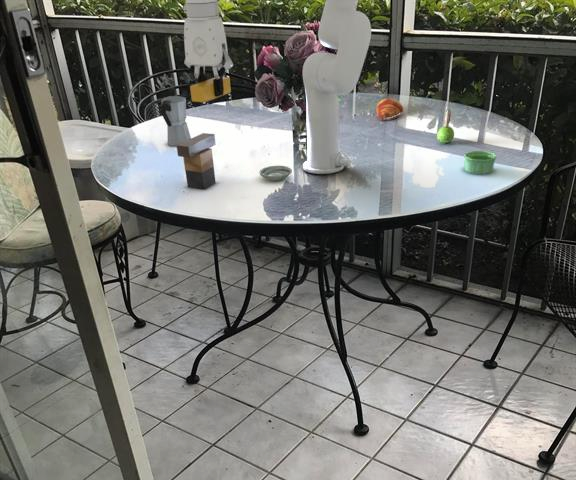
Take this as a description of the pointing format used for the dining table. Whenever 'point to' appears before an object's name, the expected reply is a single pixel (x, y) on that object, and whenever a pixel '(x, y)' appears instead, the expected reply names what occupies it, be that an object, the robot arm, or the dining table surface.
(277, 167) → the saucer
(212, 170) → the tower
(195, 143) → the lower bar
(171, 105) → the coffee maker
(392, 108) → the croissant
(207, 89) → the top bar
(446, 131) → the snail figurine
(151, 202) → the dining table surface
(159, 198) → the dining table surface
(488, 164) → the ramekin
